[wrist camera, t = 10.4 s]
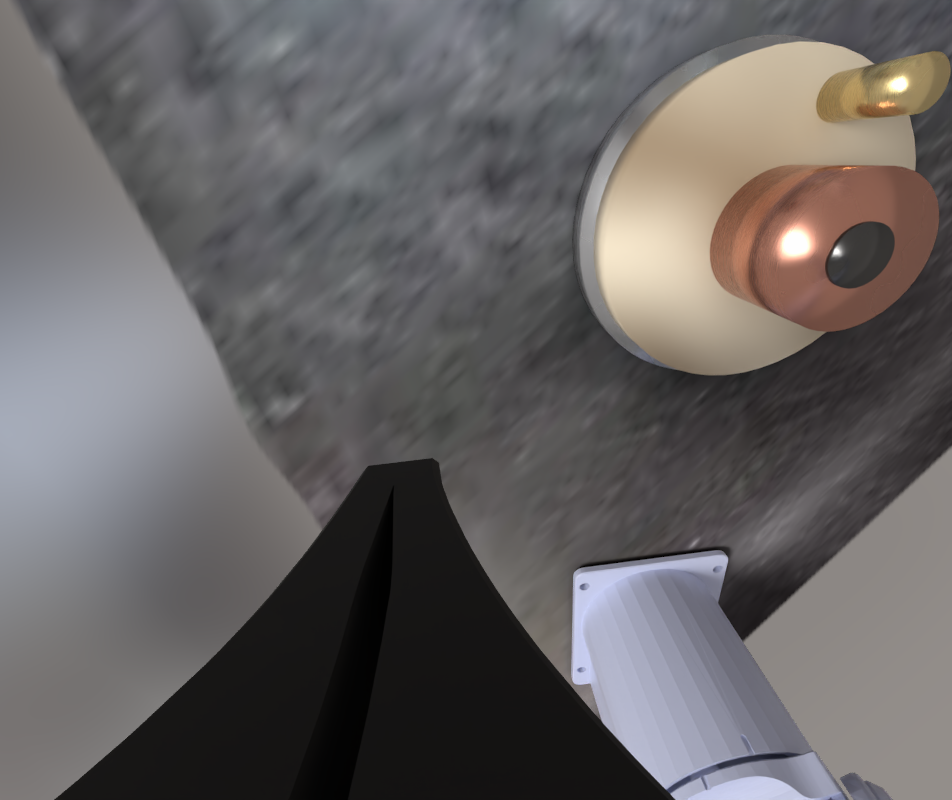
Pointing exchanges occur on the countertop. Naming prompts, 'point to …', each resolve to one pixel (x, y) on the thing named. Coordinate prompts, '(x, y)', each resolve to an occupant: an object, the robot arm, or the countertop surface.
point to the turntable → (724, 172)
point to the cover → (825, 241)
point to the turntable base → (608, 157)
